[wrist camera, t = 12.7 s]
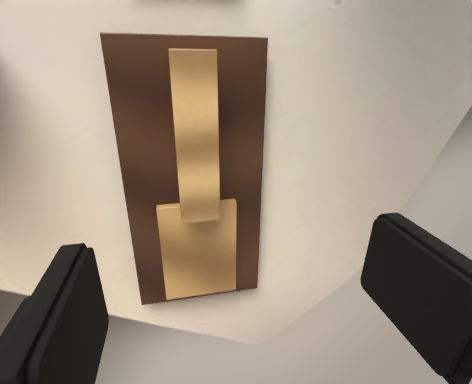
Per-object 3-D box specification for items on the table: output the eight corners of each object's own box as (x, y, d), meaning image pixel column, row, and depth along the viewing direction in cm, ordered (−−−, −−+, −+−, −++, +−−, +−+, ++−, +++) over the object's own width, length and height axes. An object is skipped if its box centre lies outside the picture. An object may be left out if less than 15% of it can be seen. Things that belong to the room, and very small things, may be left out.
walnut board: (104, 35, 21) (99, 32, 20) (261, 40, 24) (268, 37, 22) (143, 292, 30) (141, 305, 29) (252, 277, 33) (257, 288, 31)
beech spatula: (139, 51, 21) (133, 47, 17) (235, 53, 22) (248, 49, 18) (166, 294, 29) (166, 326, 25) (234, 285, 30) (243, 313, 27)
